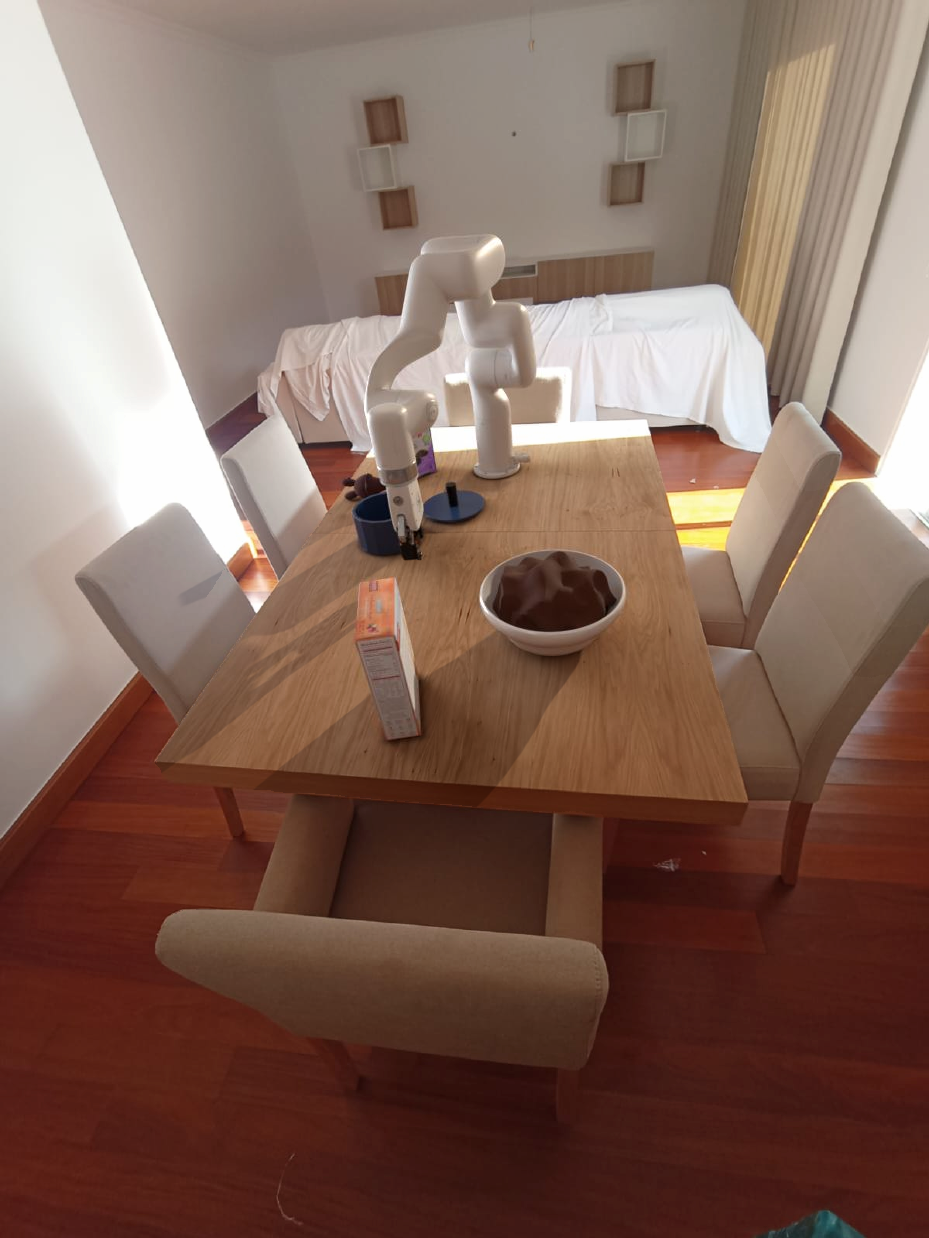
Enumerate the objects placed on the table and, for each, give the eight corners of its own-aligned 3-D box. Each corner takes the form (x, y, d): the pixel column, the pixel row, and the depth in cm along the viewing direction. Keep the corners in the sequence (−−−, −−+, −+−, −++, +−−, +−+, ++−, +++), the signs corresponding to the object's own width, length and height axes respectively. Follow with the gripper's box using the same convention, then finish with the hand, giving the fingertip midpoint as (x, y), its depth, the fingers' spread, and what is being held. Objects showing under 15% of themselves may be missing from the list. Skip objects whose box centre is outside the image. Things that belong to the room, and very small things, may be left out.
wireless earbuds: (400, 561, 125) (397, 548, 123) (410, 543, 130) (407, 530, 128) (421, 562, 123) (418, 549, 121) (430, 543, 129) (428, 530, 127)
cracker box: (384, 680, 103) (358, 580, 90) (419, 675, 103) (397, 574, 90) (383, 742, 92) (352, 639, 79) (421, 737, 92) (397, 633, 79)
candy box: (392, 486, 163) (381, 427, 153) (384, 479, 167) (372, 421, 157) (437, 471, 168) (428, 413, 157) (428, 465, 172) (419, 407, 162)
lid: (486, 492, 154) (484, 468, 150) (483, 522, 142) (481, 496, 138) (426, 496, 156) (422, 472, 152) (419, 526, 144) (414, 501, 140)
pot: (425, 521, 146) (419, 489, 140) (417, 553, 134) (411, 520, 129) (366, 525, 148) (359, 493, 142) (354, 557, 136) (345, 524, 131)
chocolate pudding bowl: (495, 587, 121) (489, 522, 111) (623, 591, 115) (628, 522, 106) (471, 673, 102) (461, 603, 93) (623, 683, 96) (628, 609, 87)
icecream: (397, 467, 157) (345, 473, 161) (389, 472, 151) (334, 479, 154) (402, 493, 160) (351, 499, 164) (394, 499, 153) (340, 505, 157)
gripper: (411, 491, 108) (426, 571, 119) (422, 450, 121) (435, 525, 132) (370, 494, 109) (389, 573, 120) (386, 453, 122) (402, 528, 133)
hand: (413, 548), depth 126 cm, fingers closed on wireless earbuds, 7 cm apart
